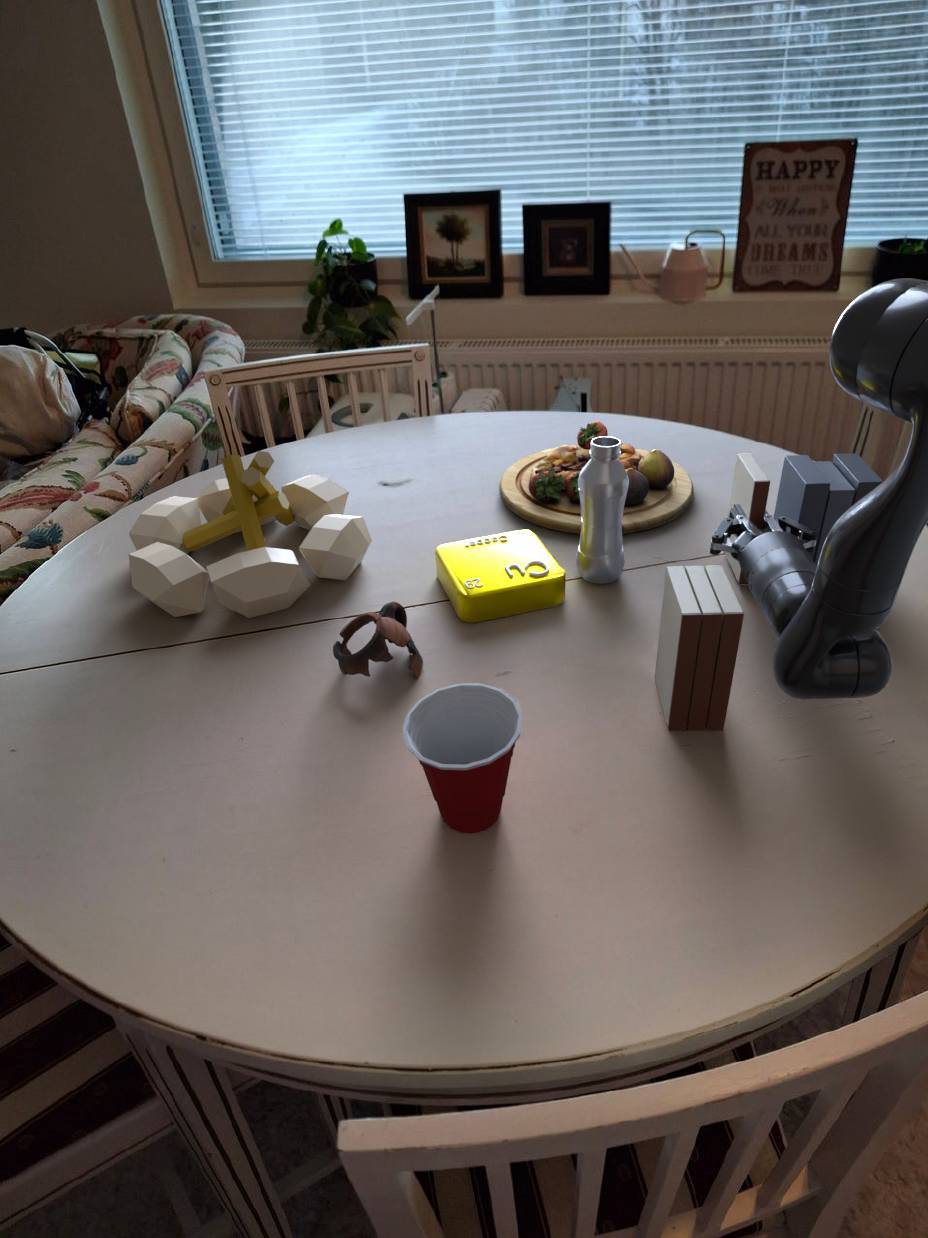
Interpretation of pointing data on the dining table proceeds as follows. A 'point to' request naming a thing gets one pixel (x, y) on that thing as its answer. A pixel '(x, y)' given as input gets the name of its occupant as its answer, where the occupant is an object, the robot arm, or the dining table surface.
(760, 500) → the cream book
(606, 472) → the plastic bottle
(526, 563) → the element tile
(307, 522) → the campfire
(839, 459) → the grey books
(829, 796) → the dining table surface
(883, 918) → the dining table surface
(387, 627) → the brown looped sculpture
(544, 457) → the wooden plate
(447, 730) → the plastic cup
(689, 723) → the white books
